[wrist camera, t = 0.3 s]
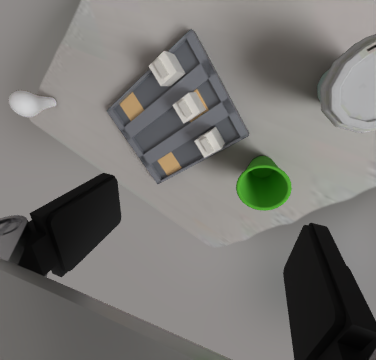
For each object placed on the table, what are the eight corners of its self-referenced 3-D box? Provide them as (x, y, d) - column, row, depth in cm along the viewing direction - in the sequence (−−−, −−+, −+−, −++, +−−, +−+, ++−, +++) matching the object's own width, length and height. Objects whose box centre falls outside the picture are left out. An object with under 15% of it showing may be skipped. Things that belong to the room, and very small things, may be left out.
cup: (239, 182, 46) (234, 207, 37) (242, 145, 42) (238, 162, 33) (280, 186, 43) (286, 214, 34) (287, 147, 39) (296, 167, 30)
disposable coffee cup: (385, 96, 32) (471, 104, 19) (313, 129, 37) (341, 151, 24) (365, 32, 29) (449, -9, 16) (291, 76, 34) (310, 70, 22)
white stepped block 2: (181, 103, 41) (170, 105, 36) (196, 91, 39) (187, 92, 34) (190, 119, 42) (182, 124, 37) (206, 109, 40) (198, 112, 35)
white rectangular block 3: (200, 135, 42) (193, 142, 38) (215, 126, 40) (210, 131, 36) (209, 151, 43) (203, 159, 38) (225, 142, 41) (220, 150, 37)
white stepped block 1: (159, 68, 39) (146, 65, 34) (174, 54, 37) (162, 49, 32) (170, 86, 40) (158, 86, 35) (185, 73, 38) (175, 71, 33)
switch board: (113, 109, 49) (106, 110, 47) (195, 31, 36) (191, 28, 34) (161, 180, 53) (157, 184, 51) (249, 133, 41) (248, 135, 39)
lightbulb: (56, 86, 51) (10, 86, 42) (67, 109, 53) (26, 114, 44) (42, 94, 54) (-3, 95, 44) (54, 115, 56) (13, 121, 46)
